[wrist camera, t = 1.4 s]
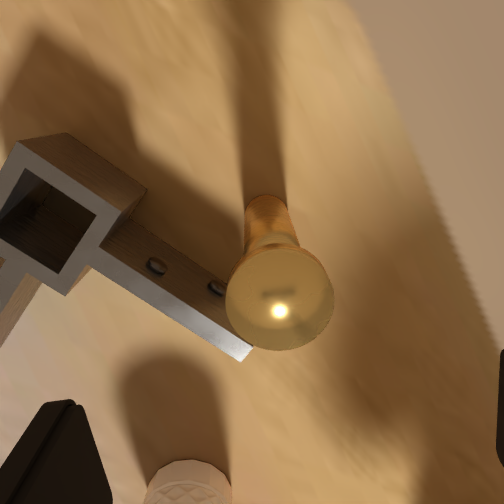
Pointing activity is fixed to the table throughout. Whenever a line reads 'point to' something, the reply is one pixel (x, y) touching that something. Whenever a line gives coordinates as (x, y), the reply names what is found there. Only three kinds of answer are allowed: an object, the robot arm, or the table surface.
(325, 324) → the hinge pin
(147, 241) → the hinge body
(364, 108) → the table surface
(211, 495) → the white cup
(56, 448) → the robot arm
